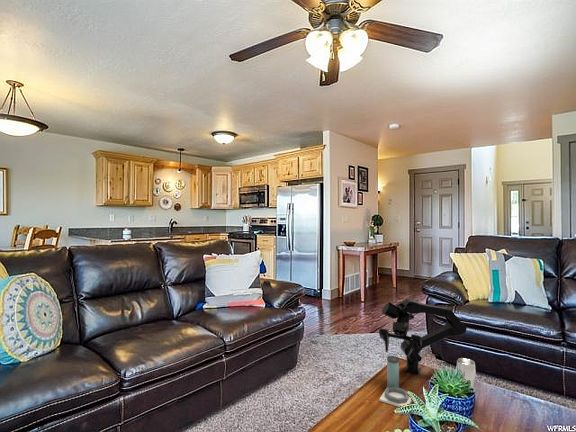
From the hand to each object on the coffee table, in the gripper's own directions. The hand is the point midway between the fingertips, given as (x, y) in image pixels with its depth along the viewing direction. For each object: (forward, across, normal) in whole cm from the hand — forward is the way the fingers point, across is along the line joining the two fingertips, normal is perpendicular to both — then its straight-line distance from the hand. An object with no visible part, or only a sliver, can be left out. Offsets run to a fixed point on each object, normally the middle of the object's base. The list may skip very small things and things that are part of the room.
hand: (396, 354), depth 148 cm
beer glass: (+7, +28, +11) cm, 31 cm away
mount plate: (+18, +3, -1) cm, 19 cm away
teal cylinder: (+12, 0, +6) cm, 13 cm away
